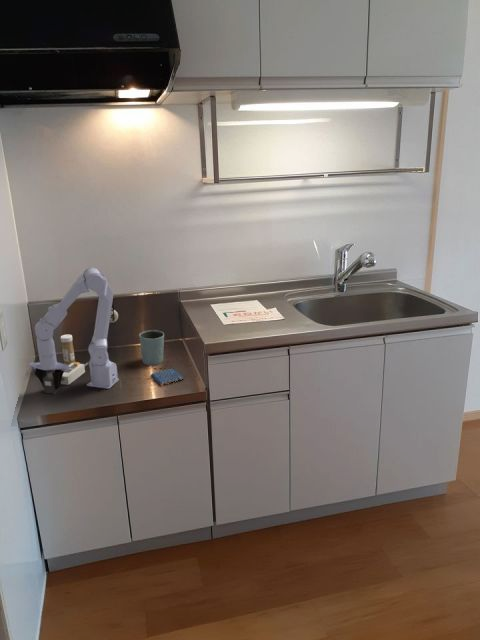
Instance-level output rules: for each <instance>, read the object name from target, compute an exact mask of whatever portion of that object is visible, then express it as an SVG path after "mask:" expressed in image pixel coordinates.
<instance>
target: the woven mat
mask: <svg viewBox="0 0 480 640" xmlns="http://www.w3.org/2000/svg"><path fill="white" fill-rule="evenodd" d="M150 378H151V379H153V381H154V382H155V383H157V384H158V385H159V386H160V387H163V386H165V385H167V384H168V385H170V384H169V383H171V382H173V383H175V382H176V381H178V380H182V379H184V380H185V379H186V378H185V377H184V376H183V375H182V374H181V373H179V372H178V371H177V370H176V369H174V368H169V369H165V370H162V371H157V372H153V373H151V374H150ZM174 381H175V382H174ZM182 381H183V380H182ZM176 383H177V382H176ZM164 384H165V385H164ZM171 384H172V383H171Z"/></svg>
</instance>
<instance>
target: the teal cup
mask: <svg viewBox="0 0 480 640" xmlns="http://www.w3.org/2000/svg"><path fill="white" fill-rule="evenodd" d="M138 339H139V343H140V353H141V357H142V358H141V360H142V364H144V365H146V366H147V365H148V366H156V365H160V364H161V362H162V361H163V362H164V345H165V344H164V341H165V333H164V332H163V331H161V330H156V329H151V330H144V331H142V332H140V333H139V335H138Z"/></svg>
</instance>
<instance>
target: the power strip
mask: <svg viewBox="0 0 480 640" xmlns="http://www.w3.org/2000/svg"><path fill="white" fill-rule="evenodd" d="M87 366H89V361H87V362H86V363H80V362H79V361H75V363H71V364H70V365H69V370H68V371H67V372H65V371H64V373H63V376H62V379H61V385H66V386H67V385H68V386H69V385H71V383H73V382H74V381H76V380H77V379H78V378H79V377H81V376H82V375H83V374H84V373H86V370H85V369H86V367H87Z"/></svg>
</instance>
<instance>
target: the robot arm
mask: <svg viewBox="0 0 480 640" xmlns="http://www.w3.org/2000/svg"><path fill="white" fill-rule="evenodd" d="M90 291H92V292H95V293H96V295H98V303H97V309H96V317H95V322H94V323H95V325H94V332H93V336H92V338H91V342H90V344H89V345H88V348H87V351H88V353H89V357H90V358H89V361H88V363H89V364H88V366H89V371H90V372H89V373H90V381H89V382H88V383H86V386H87V387H92V388H100V389H109V390H110V389H111V387H112V386H114V385H115V384H116V383H118V381H120V378H119V377H118V376H119V375H118V367H117V363H115V362H113V361H111V360H110V359H109V353H108V334H109V326H110V321H111V314H112V307H113V299H114V291H113V290H112V288H111V286H110V284H109V283H108V280H107V278H106V277H105V275H104V274H103V273H102V271H100V270H99V269H98V268H96V267H88V268H86V269H85V270H84V271H83V274H80V275H79V276H78V278H76V280H75V282H74V283H73V284H72V286H71V287H70V288H69V290H68V291H67V292H66V293H65V295H64V296H63V297H62V299H61V301H60V302H59V303H55V304H52V306H51V305H50V306H49V307H48V308H47V310H48V311H47V312H46V313H45V314H44V316H43V317H41V318H39V321H38V322H36V324H35V326H34V334H35V336H36V346H37V352H38V357H39V362H31V363H29V364H28V368H29V370H31V371H32V370H35V371H34V376H35V377H37V378H38V380H39V382H40V383H41V386H42V388H43V389H44V384H43V378H44V377H45V376H46V375H48V371H53V372H51V373H52V375H53V377H54V380H55V386H56V389H59V388H60V387H61V388H62V384H61V379H62V376H63V373H64V371H65V372H67V371H68V370H69V365H67V364H64V363H62V362H58V361H57V353H56V346H55V340H54V338H53V336H54V330H56V329H57V328H58V326H59V325H60V324H61V323H62V322H63V320H64V319H65V318H66V317H67V315H68V312H67V311H68V309H69V308H70V307H71V305H72V304H74V302H75V301H76V300H77V299H78V298H79V297H80V295H81V294H85V293H90Z"/></svg>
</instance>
